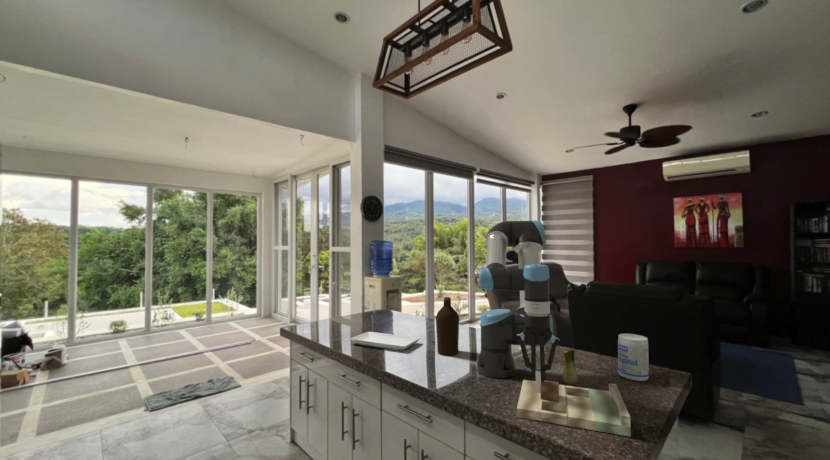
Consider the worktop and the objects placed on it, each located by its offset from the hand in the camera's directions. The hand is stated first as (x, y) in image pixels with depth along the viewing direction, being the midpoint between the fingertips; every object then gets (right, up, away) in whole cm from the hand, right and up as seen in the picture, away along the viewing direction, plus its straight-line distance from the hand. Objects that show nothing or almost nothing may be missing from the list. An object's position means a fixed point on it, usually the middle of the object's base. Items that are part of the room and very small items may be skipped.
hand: (538, 391), depth 107 cm
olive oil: (-23, -6, +50) cm, 56 cm away
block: (+3, -1, -1) cm, 3 cm away
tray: (-53, -7, +64) cm, 84 cm away
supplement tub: (+42, -5, +21) cm, 48 cm away
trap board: (+8, -4, -3) cm, 9 cm away
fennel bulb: (+16, -5, +14) cm, 22 cm away
